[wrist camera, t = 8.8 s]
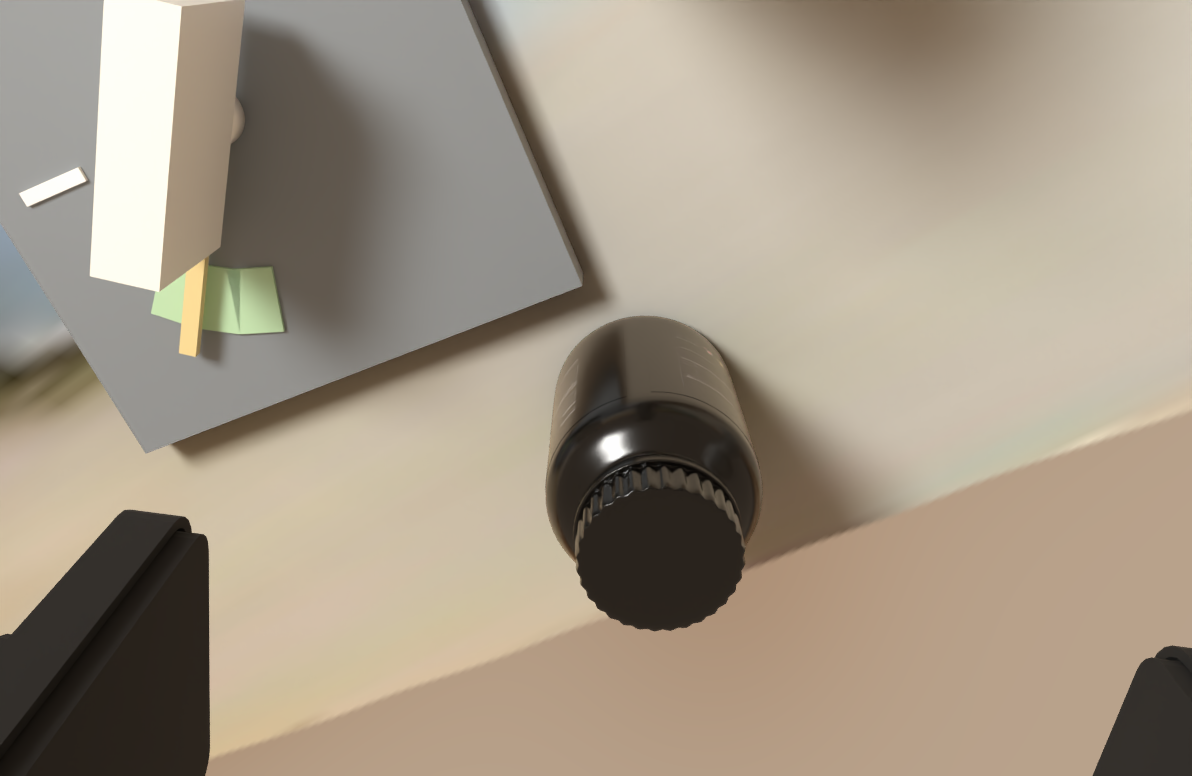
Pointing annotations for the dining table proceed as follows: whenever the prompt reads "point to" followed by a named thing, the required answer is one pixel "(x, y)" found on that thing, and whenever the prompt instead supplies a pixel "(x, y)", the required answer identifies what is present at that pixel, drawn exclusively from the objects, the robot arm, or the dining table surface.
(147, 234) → the white ice pop
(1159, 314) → the dining table surface
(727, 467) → the supplement bottle
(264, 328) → the slate dial board
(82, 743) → the robot arm
